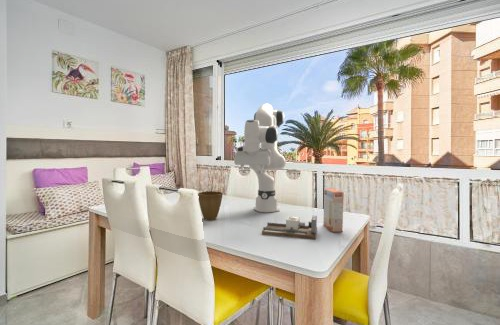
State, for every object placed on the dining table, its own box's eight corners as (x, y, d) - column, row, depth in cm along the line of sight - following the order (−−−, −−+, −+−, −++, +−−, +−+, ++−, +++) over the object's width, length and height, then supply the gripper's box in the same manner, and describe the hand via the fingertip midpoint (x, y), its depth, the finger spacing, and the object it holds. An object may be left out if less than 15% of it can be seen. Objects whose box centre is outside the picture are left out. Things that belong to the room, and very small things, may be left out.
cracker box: (343, 232, 141) (344, 192, 140) (331, 232, 140) (332, 192, 139) (333, 224, 155) (334, 188, 153) (323, 224, 154) (323, 188, 153)
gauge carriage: (288, 225, 144) (288, 215, 144) (305, 227, 142) (305, 216, 141) (284, 231, 135) (285, 220, 134) (303, 233, 132) (303, 221, 132)
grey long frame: (267, 224, 149) (267, 211, 149) (316, 228, 142) (316, 215, 141) (263, 229, 139) (263, 216, 139) (315, 234, 132) (315, 220, 132)
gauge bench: (268, 226, 151) (268, 222, 151) (316, 230, 144) (316, 227, 144) (262, 234, 137) (262, 230, 137) (315, 239, 130) (315, 235, 130)
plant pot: (216, 223, 157) (216, 195, 156) (193, 220, 162) (193, 194, 161) (226, 217, 171) (226, 191, 170) (205, 215, 176) (205, 190, 175)
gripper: (271, 148, 153) (271, 173, 154) (237, 148, 159) (237, 172, 160) (269, 148, 147) (268, 174, 148) (233, 148, 153) (233, 173, 154)
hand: (252, 173), depth 154 cm, fingers open, 8 cm apart
